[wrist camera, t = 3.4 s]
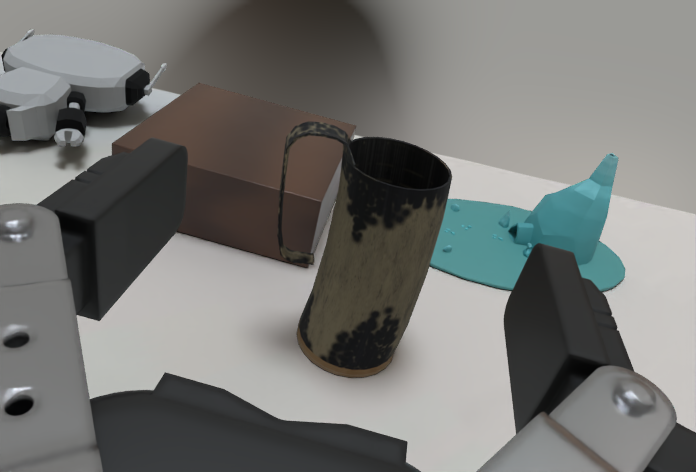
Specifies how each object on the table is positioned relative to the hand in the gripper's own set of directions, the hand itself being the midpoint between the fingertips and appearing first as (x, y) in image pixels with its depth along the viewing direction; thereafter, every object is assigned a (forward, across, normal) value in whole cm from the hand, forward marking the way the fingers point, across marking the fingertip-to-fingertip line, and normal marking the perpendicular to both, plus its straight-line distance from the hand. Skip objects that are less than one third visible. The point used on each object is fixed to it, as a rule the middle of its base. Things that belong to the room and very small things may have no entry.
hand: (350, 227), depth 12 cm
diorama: (+27, -11, +14) cm, 33 cm away
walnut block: (+24, +9, +14) cm, 29 cm away
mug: (+12, 0, +15) cm, 19 cm away
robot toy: (+28, +26, +14) cm, 41 cm away
